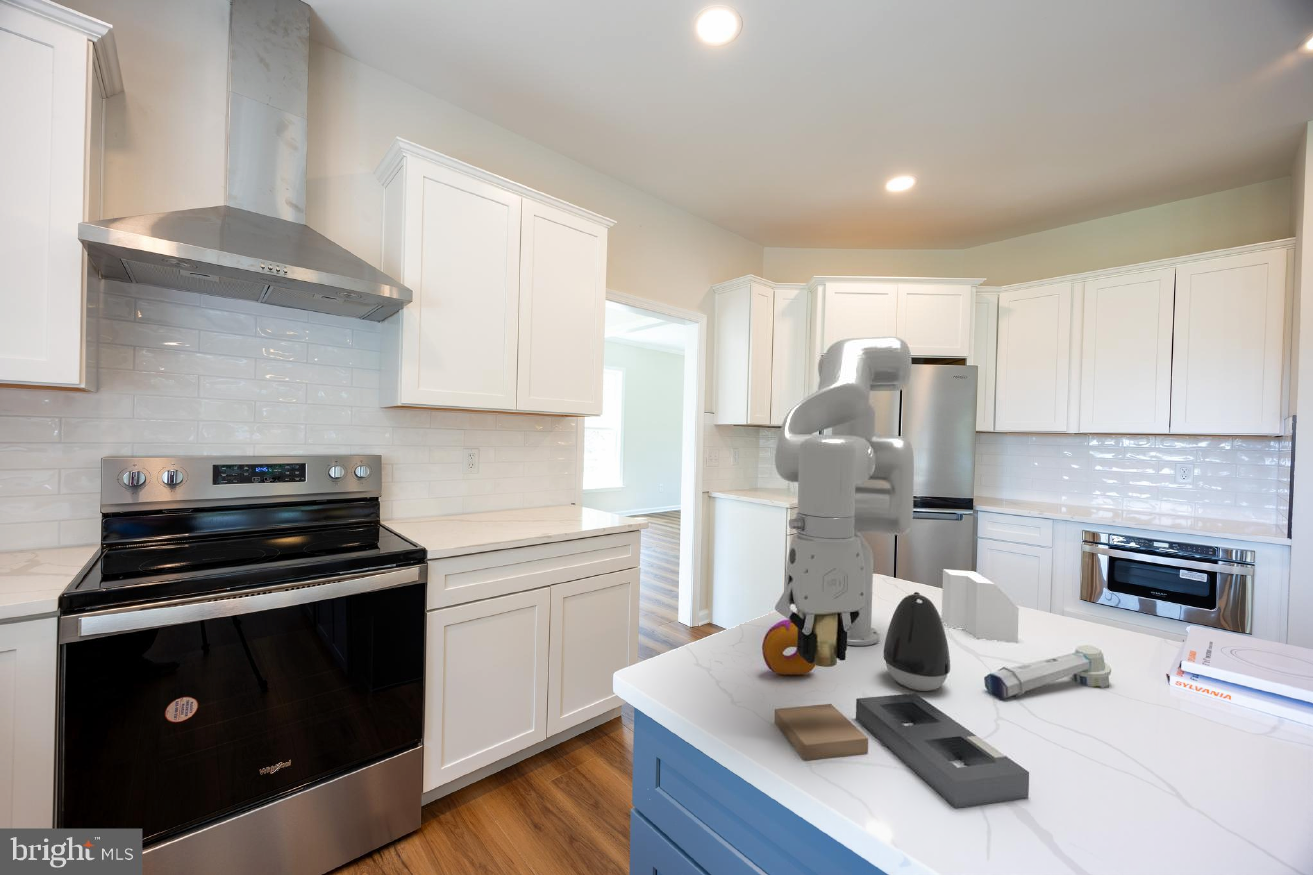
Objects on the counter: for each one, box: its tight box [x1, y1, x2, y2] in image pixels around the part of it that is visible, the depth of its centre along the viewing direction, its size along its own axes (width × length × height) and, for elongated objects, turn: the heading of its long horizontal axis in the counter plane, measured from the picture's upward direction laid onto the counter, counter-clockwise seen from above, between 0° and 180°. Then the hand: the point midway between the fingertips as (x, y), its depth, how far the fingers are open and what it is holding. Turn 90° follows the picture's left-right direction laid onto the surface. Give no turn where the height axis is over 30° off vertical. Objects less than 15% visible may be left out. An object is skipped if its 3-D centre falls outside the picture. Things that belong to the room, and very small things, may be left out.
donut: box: [761, 618, 816, 676], centre depth 91 cm, size 8×9×10 cm
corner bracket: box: [941, 568, 1019, 644], centre depth 116 cm, size 11×11×12 cm
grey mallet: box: [983, 645, 1112, 700], centre depth 89 cm, size 5×7×25 cm
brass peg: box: [811, 613, 838, 668], centre depth 73 cm, size 4×4×7 cm
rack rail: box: [855, 692, 1030, 809], centre depth 69 cm, size 19×10×3 cm, turn 13°
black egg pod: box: [882, 591, 951, 692], centre depth 89 cm, size 10×10×15 cm
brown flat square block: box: [773, 703, 869, 761], centre depth 72 cm, size 9×9×2 cm
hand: (821, 656), depth 73 cm, fingers closed on brass peg, 4 cm apart
